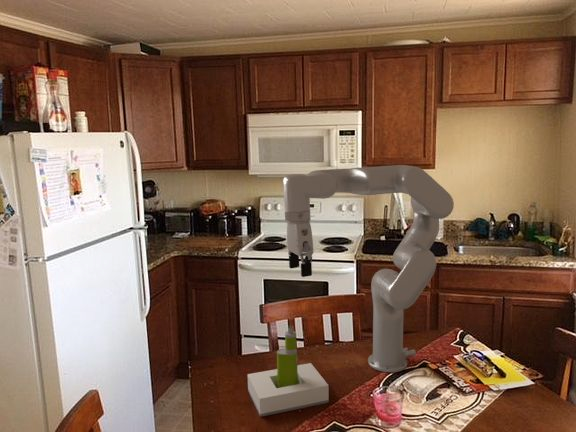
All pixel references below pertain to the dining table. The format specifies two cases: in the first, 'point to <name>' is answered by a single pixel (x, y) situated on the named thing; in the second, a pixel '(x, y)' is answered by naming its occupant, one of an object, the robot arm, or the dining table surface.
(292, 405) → the charging dock
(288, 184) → the robot arm
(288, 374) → the vape
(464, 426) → the dining table surface
